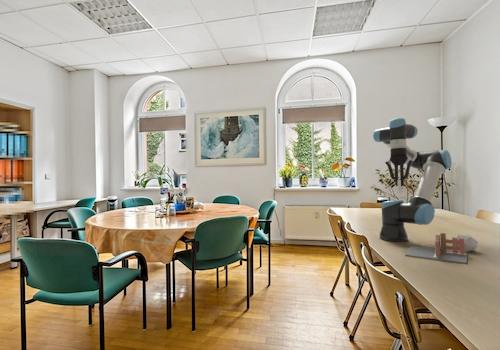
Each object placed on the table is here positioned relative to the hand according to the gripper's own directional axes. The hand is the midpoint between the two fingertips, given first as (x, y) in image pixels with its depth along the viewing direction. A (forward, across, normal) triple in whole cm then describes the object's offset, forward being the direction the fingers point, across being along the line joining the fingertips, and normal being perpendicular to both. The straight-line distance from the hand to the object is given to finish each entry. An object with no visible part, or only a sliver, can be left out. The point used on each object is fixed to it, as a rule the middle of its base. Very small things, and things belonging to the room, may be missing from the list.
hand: (399, 192), depth 145 cm
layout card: (+29, +16, -6) cm, 34 cm away
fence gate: (+28, +16, -7) cm, 33 cm away
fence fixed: (+29, +22, -1) cm, 36 cm away
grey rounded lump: (+30, +27, +10) cm, 41 cm away
